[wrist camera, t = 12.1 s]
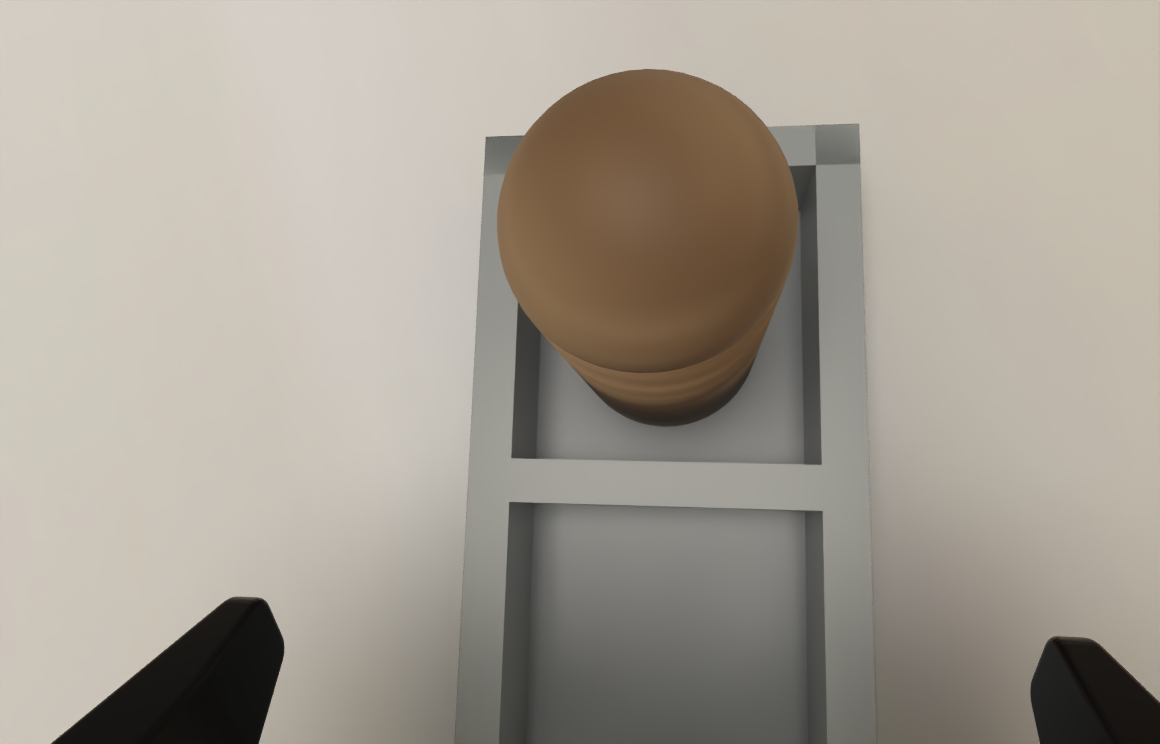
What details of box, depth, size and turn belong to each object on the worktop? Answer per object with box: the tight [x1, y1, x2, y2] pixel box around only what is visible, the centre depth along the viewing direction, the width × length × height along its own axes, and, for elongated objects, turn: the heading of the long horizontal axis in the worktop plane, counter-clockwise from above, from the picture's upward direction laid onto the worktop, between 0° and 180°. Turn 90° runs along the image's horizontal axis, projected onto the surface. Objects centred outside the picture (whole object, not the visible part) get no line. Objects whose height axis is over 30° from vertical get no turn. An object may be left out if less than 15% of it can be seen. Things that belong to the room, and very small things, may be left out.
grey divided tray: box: [455, 124, 877, 744], centre depth 20 cm, size 17×9×4 cm, turn 178°
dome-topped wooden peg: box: [497, 69, 799, 427], centre depth 17 cm, size 5×5×11 cm
